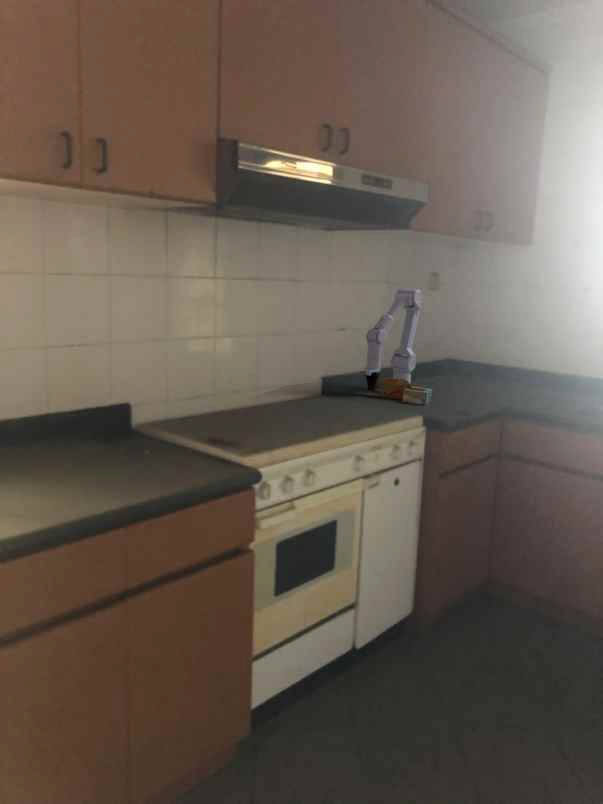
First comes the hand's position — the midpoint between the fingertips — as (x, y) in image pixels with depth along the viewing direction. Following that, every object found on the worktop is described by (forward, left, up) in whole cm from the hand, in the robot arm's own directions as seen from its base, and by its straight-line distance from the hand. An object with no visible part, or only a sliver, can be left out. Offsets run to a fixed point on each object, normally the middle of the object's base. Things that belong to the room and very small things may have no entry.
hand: (371, 390), depth 276 cm
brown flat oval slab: (0, +9, -2) cm, 10 cm away
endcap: (0, +19, -2) cm, 19 cm away
